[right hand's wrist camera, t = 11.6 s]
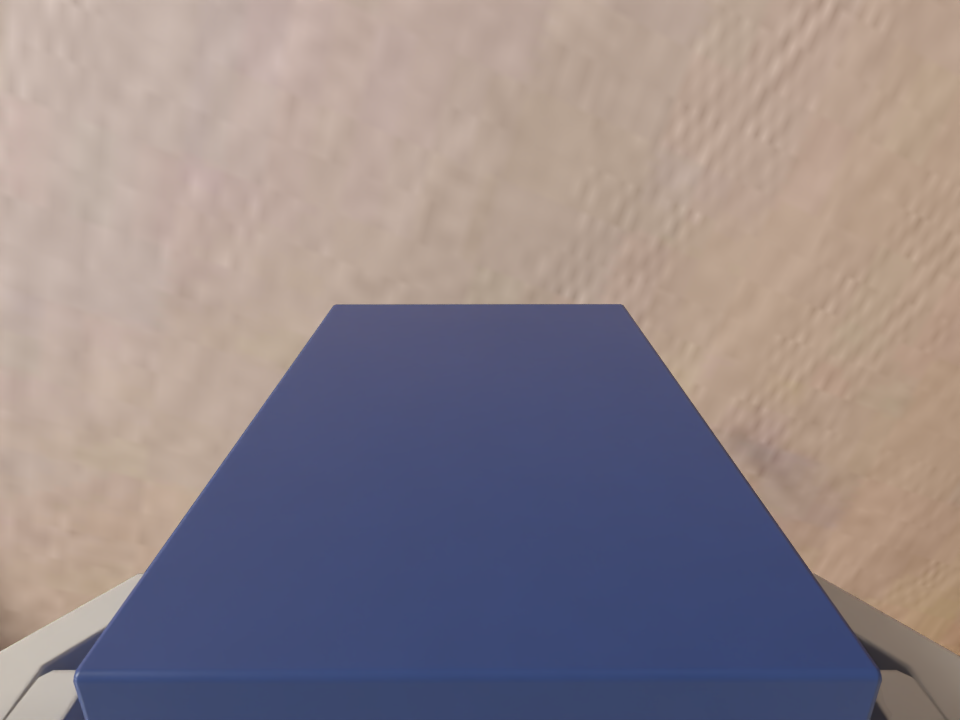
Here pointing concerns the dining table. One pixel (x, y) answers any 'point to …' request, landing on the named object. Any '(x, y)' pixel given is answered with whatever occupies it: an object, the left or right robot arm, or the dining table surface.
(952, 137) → the dining table surface
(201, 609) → the box
